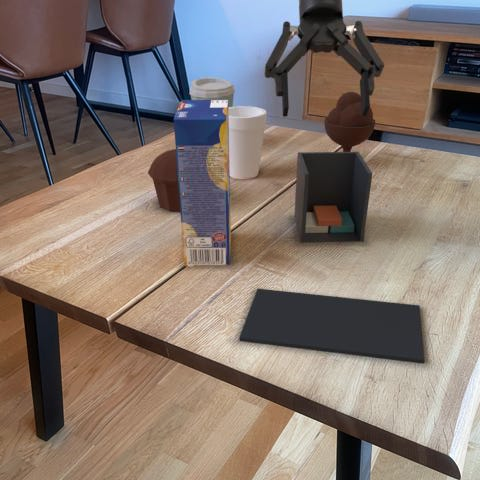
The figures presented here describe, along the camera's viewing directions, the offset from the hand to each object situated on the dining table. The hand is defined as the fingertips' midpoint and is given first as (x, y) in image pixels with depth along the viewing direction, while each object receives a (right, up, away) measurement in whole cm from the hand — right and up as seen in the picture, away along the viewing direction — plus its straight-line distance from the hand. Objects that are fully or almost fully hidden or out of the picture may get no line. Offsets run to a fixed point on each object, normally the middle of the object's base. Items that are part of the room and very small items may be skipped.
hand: (325, 112), depth 94 cm
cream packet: (-2, -19, +2) cm, 19 cm away
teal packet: (+3, -19, +2) cm, 19 cm away
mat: (-3, -36, -22) cm, 42 cm away
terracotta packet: (0, -18, +1) cm, 18 cm away
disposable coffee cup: (-21, +7, +41) cm, 47 cm away
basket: (0, -20, +1) cm, 20 cm away
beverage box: (-20, -24, -5) cm, 32 cm away
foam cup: (-14, -4, +25) cm, 29 cm away
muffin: (-25, -13, +12) cm, 31 cm away
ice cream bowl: (+9, -1, +30) cm, 31 cm away
